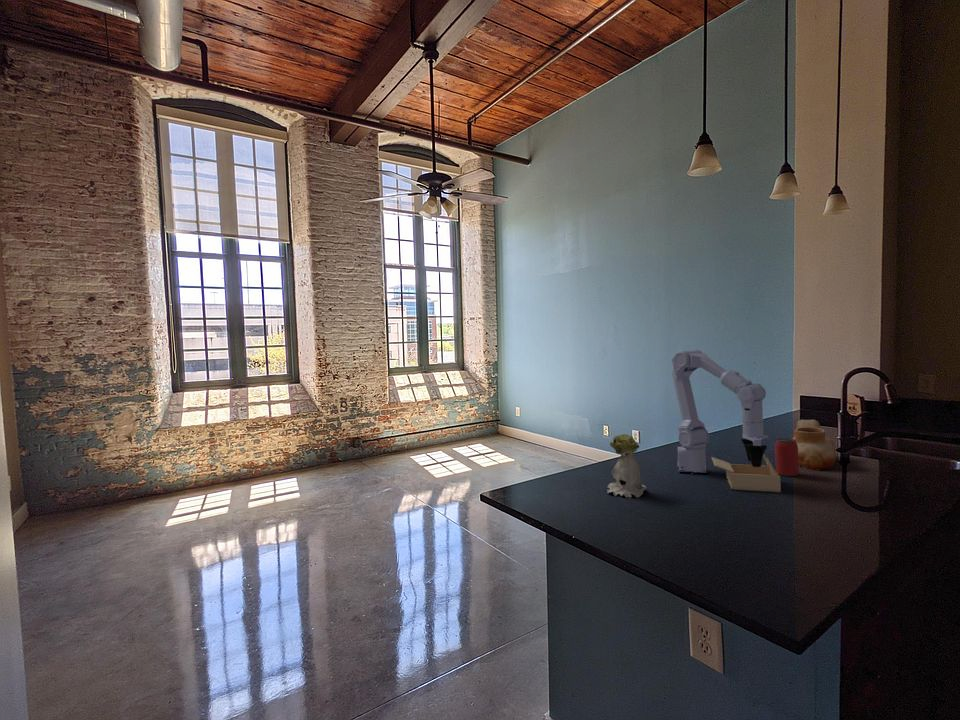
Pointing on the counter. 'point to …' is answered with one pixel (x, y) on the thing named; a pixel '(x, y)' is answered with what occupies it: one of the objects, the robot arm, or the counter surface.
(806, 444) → the ceramic vessel
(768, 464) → the flap
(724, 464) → the flap
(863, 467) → the counter surface
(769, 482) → the cardboard box
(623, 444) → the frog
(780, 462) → the beer can
